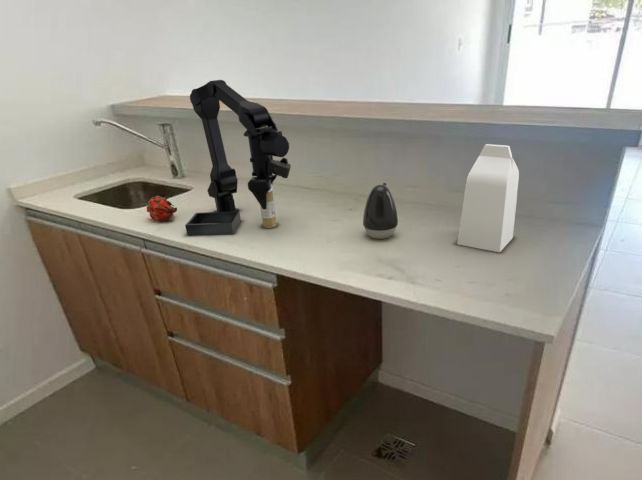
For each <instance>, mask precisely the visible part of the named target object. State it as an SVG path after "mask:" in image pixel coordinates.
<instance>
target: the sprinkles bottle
mask: <svg viewBox="0 0 642 480" xmlns="http://www.w3.org/2000/svg"><path fill="white" fill-rule="evenodd" d="M259 207H260V215H261V221H262V227H263V228H266V229H272V228H275V227H276V226H277V225H278V224H277V218H276V208H275V200H274V188H273V185H272V184H271V189H270V190H269V191H268V192H267V209H262V207H261V205H260V204H259Z"/></svg>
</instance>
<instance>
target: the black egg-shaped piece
mask: <svg viewBox="0 0 642 480" xmlns="http://www.w3.org/2000/svg"><path fill="white" fill-rule="evenodd" d="M362 216H363V218H362V226H363V228H364V230H365V233H366V234H367V235H368V236H369V237H371V238H373V239H377V240H382V239H388V238H389V237H391V236H393V235H394V233H395V232H396V230H397V227H398V225H399V219H398V218H399V217H398V211H397V207H396V202H395V199H394V196H393V194H392V191H391V190H390V189H389V187H388V186H387V183H386V182H383V183H382V184H376V185H374V186H373V187H372V188H371V190H370V192H369V193H368V196H367V198H366V203H365V207H364V211H363V215H362Z"/></svg>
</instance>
